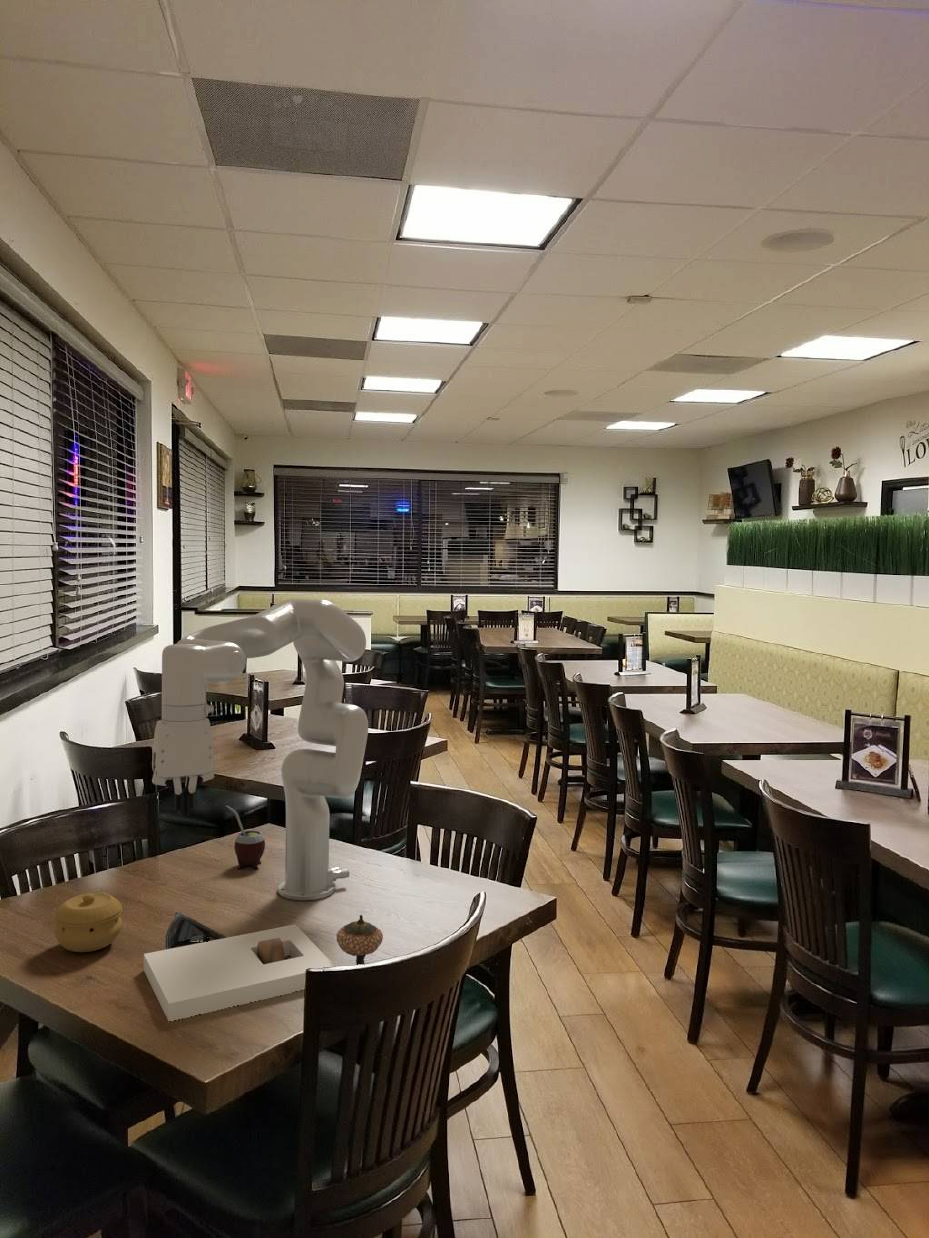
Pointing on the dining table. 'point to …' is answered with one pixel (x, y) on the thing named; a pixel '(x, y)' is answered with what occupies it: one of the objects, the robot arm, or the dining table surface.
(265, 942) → the brown wooden cylinder
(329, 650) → the robot arm
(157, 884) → the dining table surface
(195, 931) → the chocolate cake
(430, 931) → the dining table surface
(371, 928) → the acorn
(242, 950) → the plate
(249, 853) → the mate gourd
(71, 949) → the pot
